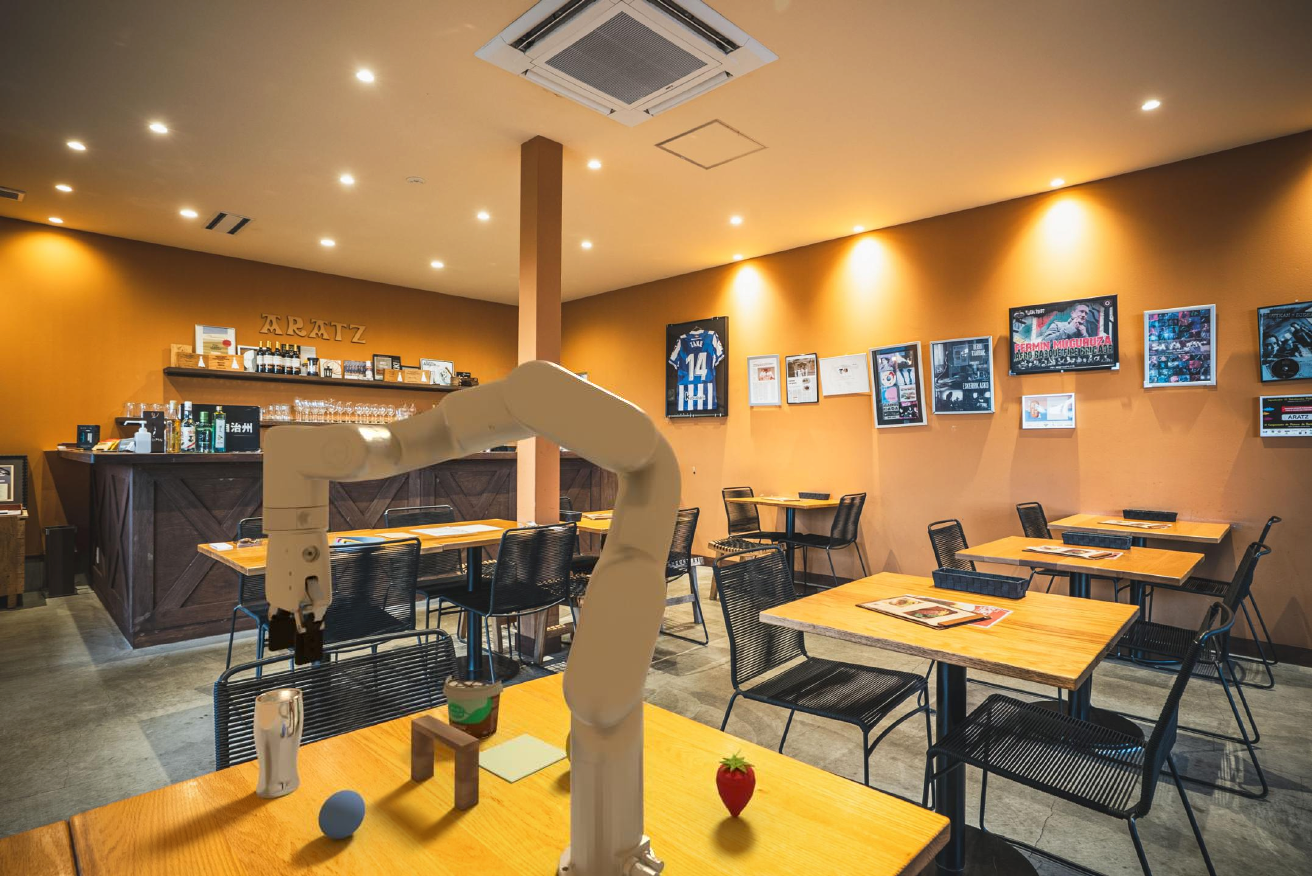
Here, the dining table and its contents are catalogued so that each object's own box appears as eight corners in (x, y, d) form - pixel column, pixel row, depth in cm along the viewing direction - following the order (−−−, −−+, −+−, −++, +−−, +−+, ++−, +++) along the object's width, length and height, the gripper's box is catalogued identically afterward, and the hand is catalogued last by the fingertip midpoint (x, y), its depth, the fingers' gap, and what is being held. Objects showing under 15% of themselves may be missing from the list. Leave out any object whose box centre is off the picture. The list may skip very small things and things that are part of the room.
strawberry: (756, 804, 99) (756, 738, 99) (755, 832, 92) (755, 761, 92) (717, 801, 100) (717, 735, 100) (714, 829, 93) (713, 758, 93)
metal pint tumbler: (243, 793, 103) (244, 698, 103) (285, 774, 109) (286, 684, 109) (269, 804, 100) (270, 706, 100) (312, 784, 106) (312, 691, 106)
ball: (372, 833, 92) (373, 791, 92) (329, 853, 87) (329, 808, 87) (353, 818, 96) (354, 777, 96) (310, 836, 91) (311, 793, 91)
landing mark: (571, 754, 116) (571, 753, 116) (511, 782, 106) (511, 781, 106) (525, 734, 124) (525, 733, 124) (466, 758, 114) (466, 757, 114)
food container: (429, 738, 123) (429, 685, 123) (448, 725, 129) (448, 674, 129) (486, 746, 119) (486, 691, 119) (503, 732, 125) (503, 680, 125)
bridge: (427, 771, 110) (427, 714, 110) (478, 802, 100) (479, 739, 100) (410, 778, 107) (411, 719, 108) (461, 810, 98) (461, 746, 98)
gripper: (355, 522, 81) (354, 662, 81) (300, 514, 93) (299, 637, 92) (291, 527, 75) (289, 678, 75) (240, 518, 87) (239, 649, 86)
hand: (294, 654), depth 84 cm, fingers open, 8 cm apart
